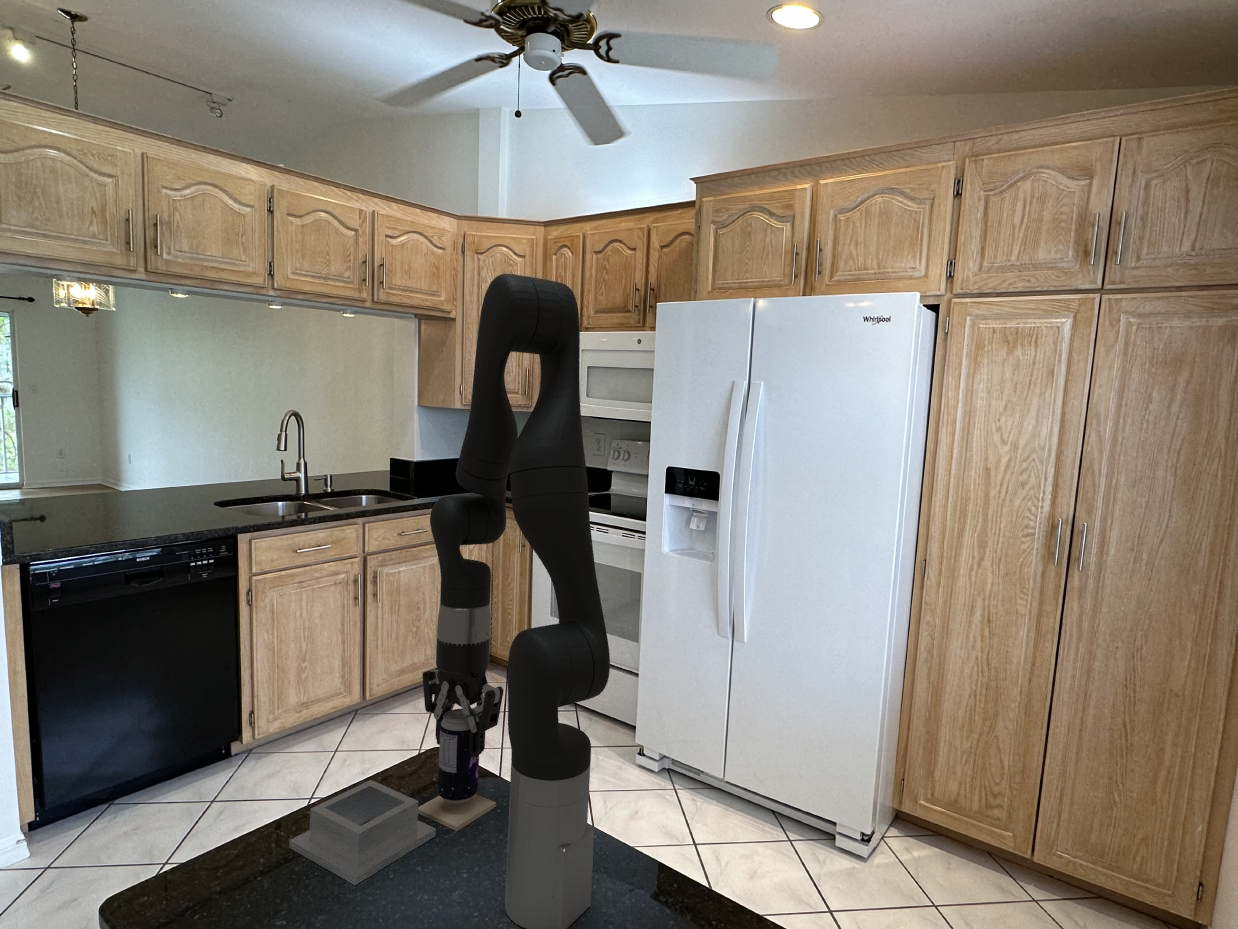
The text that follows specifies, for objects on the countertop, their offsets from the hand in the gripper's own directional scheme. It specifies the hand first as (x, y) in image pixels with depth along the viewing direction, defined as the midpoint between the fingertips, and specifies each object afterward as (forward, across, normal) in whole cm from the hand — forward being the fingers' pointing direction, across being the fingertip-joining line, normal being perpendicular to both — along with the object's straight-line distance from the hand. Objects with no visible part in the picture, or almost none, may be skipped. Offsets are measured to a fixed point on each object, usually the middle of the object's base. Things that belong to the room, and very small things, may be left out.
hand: (459, 748), depth 103 cm
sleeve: (+9, +4, +13) cm, 16 cm away
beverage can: (+7, 0, 0) cm, 7 cm away
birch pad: (+9, 0, 0) cm, 9 cm away
